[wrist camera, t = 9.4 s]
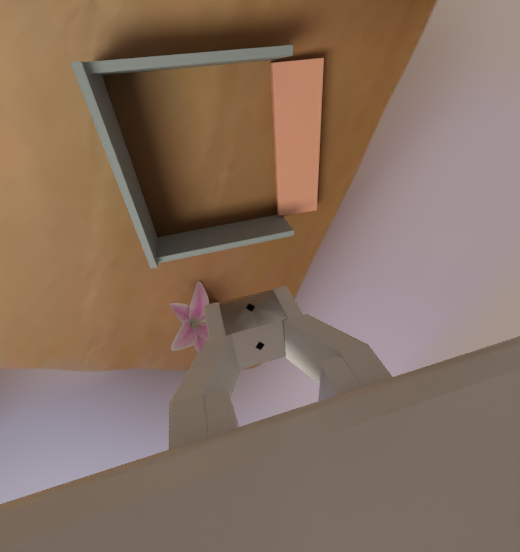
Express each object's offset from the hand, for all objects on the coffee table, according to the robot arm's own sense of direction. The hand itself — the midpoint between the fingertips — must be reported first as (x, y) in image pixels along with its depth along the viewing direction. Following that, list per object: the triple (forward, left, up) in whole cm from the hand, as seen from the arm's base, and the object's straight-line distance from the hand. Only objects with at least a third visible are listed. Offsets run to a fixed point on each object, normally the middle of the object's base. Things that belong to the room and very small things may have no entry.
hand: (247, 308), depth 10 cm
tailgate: (+1, +11, -30) cm, 32 cm away
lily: (+25, -5, -31) cm, 41 cm away
